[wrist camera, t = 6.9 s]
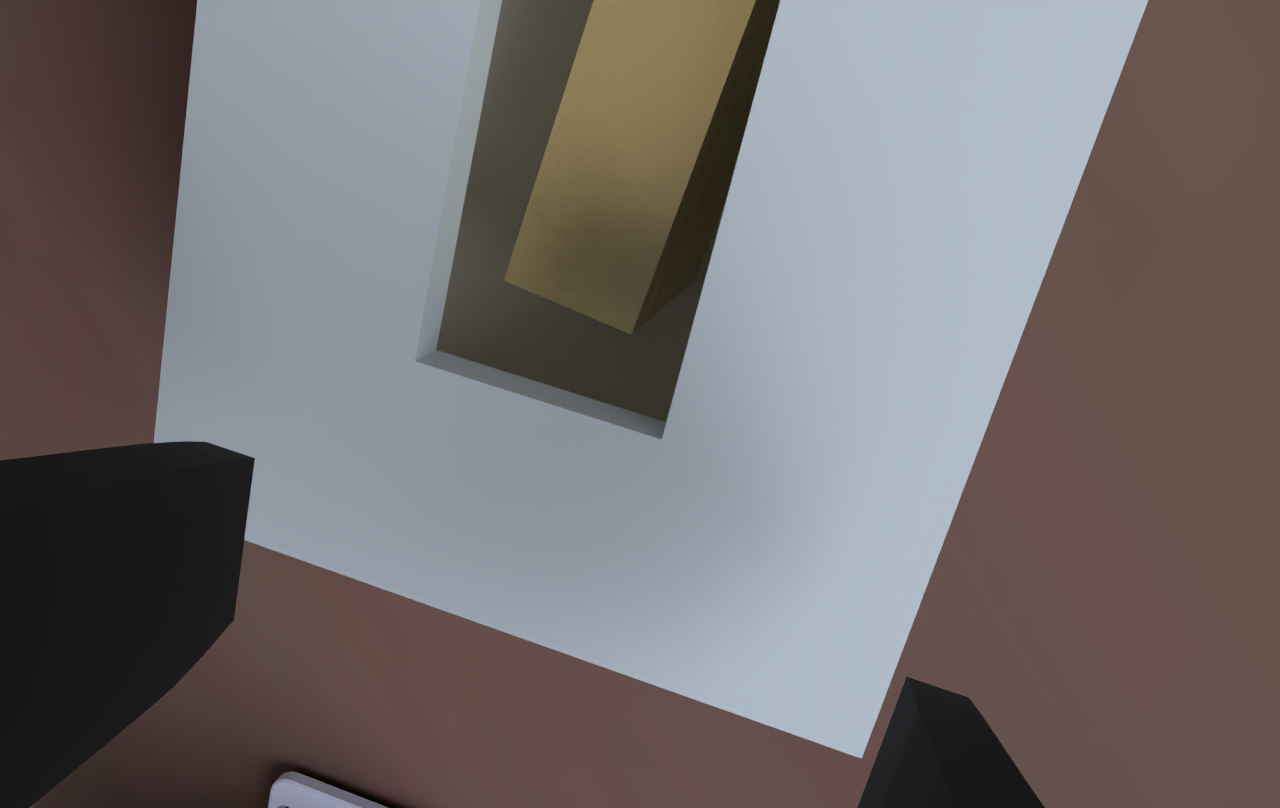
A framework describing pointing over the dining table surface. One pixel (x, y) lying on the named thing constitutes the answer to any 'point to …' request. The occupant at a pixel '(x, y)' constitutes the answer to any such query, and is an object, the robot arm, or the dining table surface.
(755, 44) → the tan wooden block
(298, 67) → the tissue box
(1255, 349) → the dining table surface
